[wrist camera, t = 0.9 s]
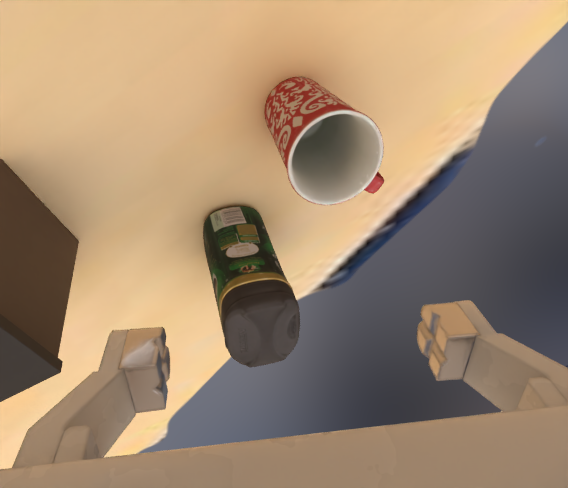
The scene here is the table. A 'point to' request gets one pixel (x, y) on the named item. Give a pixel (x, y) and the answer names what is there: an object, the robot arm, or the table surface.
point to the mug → (323, 142)
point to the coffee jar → (250, 288)
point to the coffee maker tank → (31, 286)
